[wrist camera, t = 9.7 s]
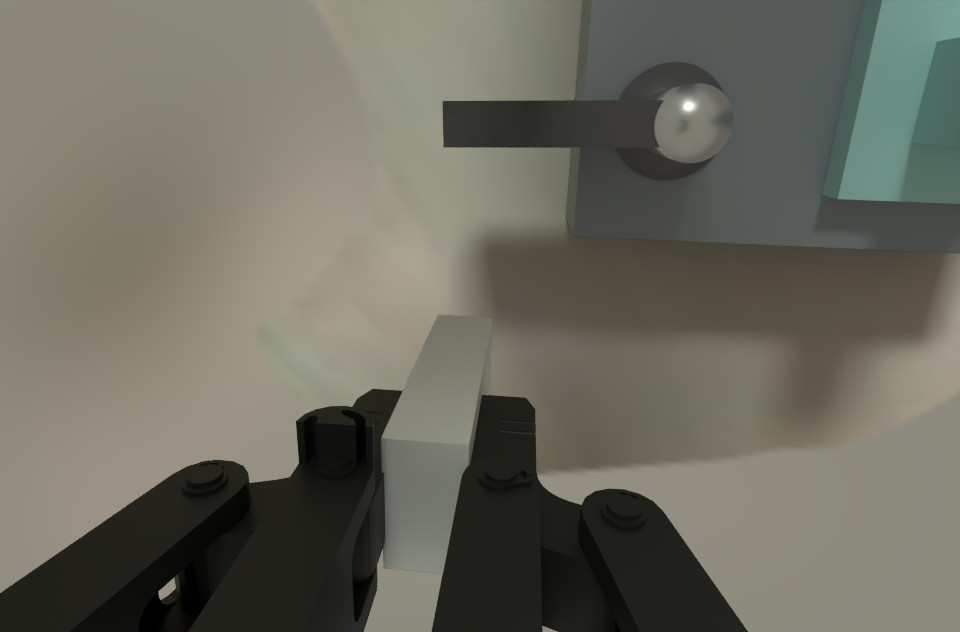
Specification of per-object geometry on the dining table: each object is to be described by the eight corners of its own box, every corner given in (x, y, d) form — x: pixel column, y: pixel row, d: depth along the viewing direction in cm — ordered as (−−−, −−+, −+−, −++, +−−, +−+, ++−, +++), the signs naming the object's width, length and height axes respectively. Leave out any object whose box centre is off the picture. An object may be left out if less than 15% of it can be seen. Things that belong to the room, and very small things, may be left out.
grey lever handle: (707, 87, 27) (738, 83, 23) (699, 156, 28) (728, 163, 24) (454, 89, 27) (441, 84, 23) (455, 156, 28) (443, 162, 24)
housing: (586, -53, 31) (600, -94, 25) (1035, -48, 29) (1163, -89, 23) (565, 216, 35) (573, 237, 29) (953, 233, 34) (1042, 257, 28)
